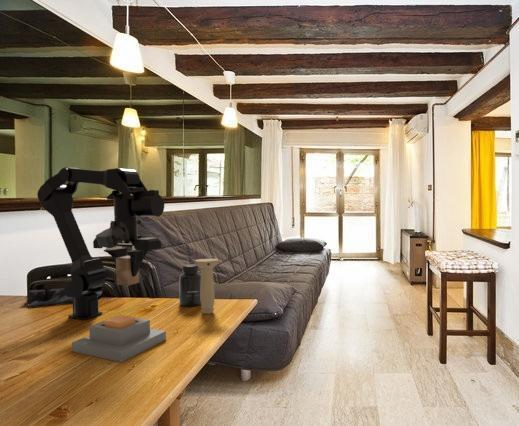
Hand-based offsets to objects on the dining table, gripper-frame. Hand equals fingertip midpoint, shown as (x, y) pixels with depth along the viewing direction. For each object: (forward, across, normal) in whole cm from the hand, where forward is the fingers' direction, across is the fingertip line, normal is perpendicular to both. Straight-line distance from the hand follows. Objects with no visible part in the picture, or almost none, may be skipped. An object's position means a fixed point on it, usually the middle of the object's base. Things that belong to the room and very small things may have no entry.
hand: (127, 275), depth 108 cm
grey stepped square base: (+12, +11, -14) cm, 22 cm away
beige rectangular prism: (+2, 0, 0) cm, 2 cm away
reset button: (+9, +11, -14) cm, 20 cm away
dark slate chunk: (+13, -36, +10) cm, 40 cm away
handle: (+12, +15, +15) cm, 25 cm away
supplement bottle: (+12, +5, +21) cm, 25 cm away
